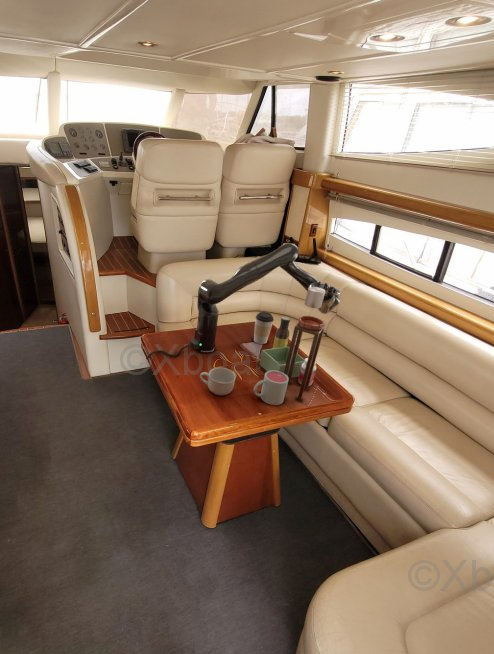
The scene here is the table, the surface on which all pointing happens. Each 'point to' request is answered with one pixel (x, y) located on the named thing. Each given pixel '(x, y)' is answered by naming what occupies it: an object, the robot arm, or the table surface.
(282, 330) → the sauce bottle
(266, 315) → the coffee cup
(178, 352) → the robot arm
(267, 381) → the mug
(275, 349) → the bin
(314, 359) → the stand
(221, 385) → the teacup
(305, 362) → the pill bottle
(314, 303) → the small saucepan
